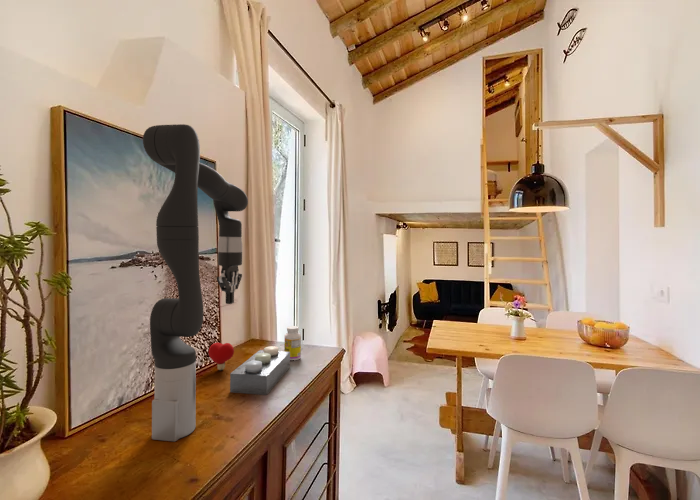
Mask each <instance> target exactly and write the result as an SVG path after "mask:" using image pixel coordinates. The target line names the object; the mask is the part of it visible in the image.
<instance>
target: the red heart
mask: <svg viewBox="0 0 700 500" xmlns="http://www.w3.org/2000/svg"><path fill="white" fill-rule="evenodd" d="M208 348H209V349H208V356H209V358H210V359H211V360H212V361H213V362H214V363H216V364H217V367H216V368H217V370H219V371H223V370H224V369H225V368H226V362H227V361H229V360H231V358H233V357H234V353H235V349H234V346H233V345H232V344H231V343H229V342H225V343H221V342H214V343H212V344H211V345H210V346H209V347H208Z"/></svg>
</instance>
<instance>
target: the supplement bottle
mask: <svg viewBox="0 0 700 500" xmlns="http://www.w3.org/2000/svg"><path fill="white" fill-rule="evenodd" d="M299 330H300V328H299V326H297V325H290V326H287V327H286V331H287V333H285V334H284V351H285V352H290V360H294V361H298V360H300V359H301V357H302V356H301V355H302V353H301V352H302V336H301V333H300V332H299Z"/></svg>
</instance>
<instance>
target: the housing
mask: <svg viewBox="0 0 700 500" xmlns="http://www.w3.org/2000/svg"><path fill="white" fill-rule="evenodd" d="M260 353H264V349H259V350H258V351H257V352H255V353H254V354H253V355H251V356H250V357H249V358H248V359H247V360H246V361H244V362H243V363H242V364H240V365H239V366H238V367H236V369H234V370H233V371H231V372H230V377H229V387H230V388H229V393H236V394H247V395H248V394H249V395H260V396H261V395H262V396H267V395H268V394H269V393H270V392H271V390H272V389H273V388H274V387H275V386H276V384H278V382H280V380H281V379H282V378H283V376H284V375H285V374H286V373H287V371H288V370H290V368H291V361H290V352H285V351H282V350H278V354H277V355H276V356H275V357H272V356H271V361H270V362H269V363H268V364H262V370H261V371H259V372H258V373H248V372H246V371H245V363H247V362H249V361H255V355H257V354H260ZM289 367H290V368H289ZM285 372H286V373H285Z"/></svg>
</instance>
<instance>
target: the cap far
mask: <svg viewBox="0 0 700 500" xmlns="http://www.w3.org/2000/svg"><path fill="white" fill-rule="evenodd" d="M263 350H264V353H269V354H271V356H272V357H275V356H276V355H277V354H278V351H279V347H278V346H274V345H273V346H272V345H271V346H266V347H264V348H263Z"/></svg>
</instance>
